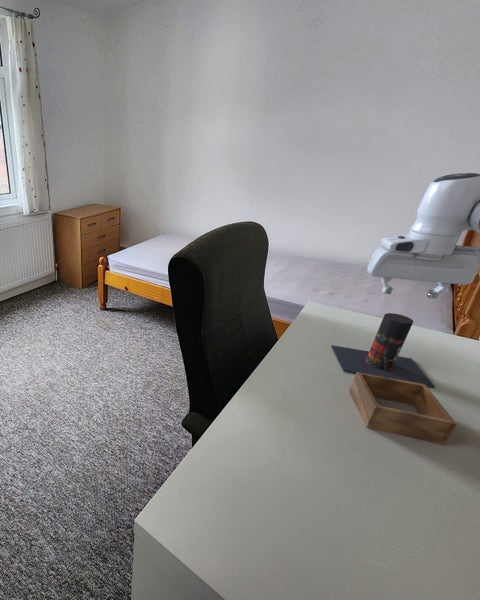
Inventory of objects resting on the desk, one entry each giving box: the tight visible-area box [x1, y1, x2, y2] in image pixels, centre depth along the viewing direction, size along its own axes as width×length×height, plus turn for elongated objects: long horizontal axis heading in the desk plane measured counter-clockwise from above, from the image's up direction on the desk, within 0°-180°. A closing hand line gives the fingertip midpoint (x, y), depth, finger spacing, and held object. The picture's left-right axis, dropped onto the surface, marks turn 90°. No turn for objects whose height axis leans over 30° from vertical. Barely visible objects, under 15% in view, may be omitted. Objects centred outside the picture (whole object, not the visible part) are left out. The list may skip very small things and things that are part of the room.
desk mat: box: [330, 344, 436, 389], centre depth 98 cm, size 20×14×1 cm
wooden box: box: [349, 372, 458, 446], centre depth 79 cm, size 14×14×6 cm
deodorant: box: [366, 312, 414, 370], centre depth 94 cm, size 6×6×15 cm
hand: (408, 295), depth 89 cm, fingers open, 8 cm apart
